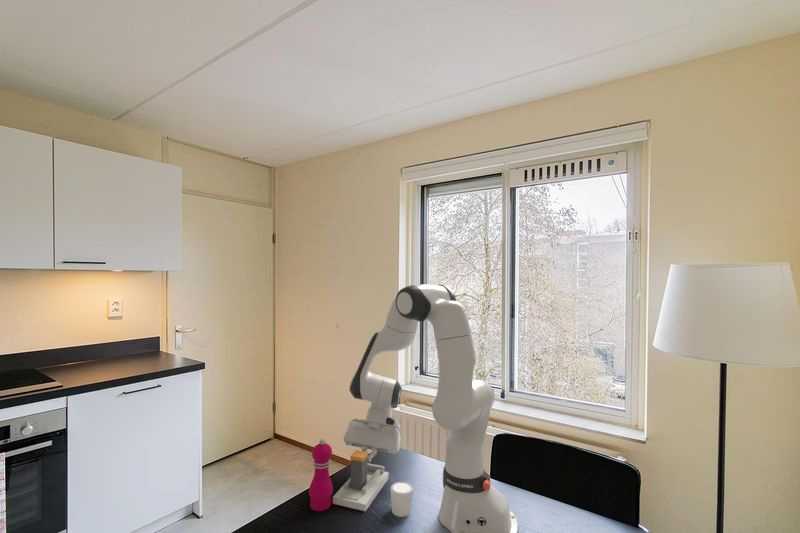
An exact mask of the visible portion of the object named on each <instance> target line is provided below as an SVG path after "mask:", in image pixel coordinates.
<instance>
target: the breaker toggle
mask: <svg viewBox="0 0 800 533" xmlns="http://www.w3.org/2000/svg"><path fill="white" fill-rule="evenodd" d="M368 455H369V452H367V451H365V452H363V451H362V450H355V451H353V453H352V454H351V455H350V477H349V478H350V488H353V489H358V490H362V488H363V487H364V486H365V484H366V483H367V463H368V462H367V456H368Z"/></svg>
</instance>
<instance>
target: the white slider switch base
mask: <svg viewBox="0 0 800 533" xmlns="http://www.w3.org/2000/svg"><path fill="white" fill-rule="evenodd" d="M389 474H390V472H388V471H385V465H379V464H373V463H368V462H367V483H366V484H365V486H364V487H363V488H362V490H358V489H353V488H350V477H349V478H348V479H347V481H346V482H345V483H344V484H343V485H342V486H341V487H340V488H339V490H337V492H335V494H334V495H333V496H332V505H337V506H341V507H346V508H349V509H354V510H359V511H361V512H362V511H363V512H366V511H367V510H368V508H369V507H370V506H371V504H372V502H374V499H376V497H377V496H378V494H379V493H380V492H381V490H382V489H383V487H384V486H385V484H386V483H387V481H388V480H389V479H388V478H390V477H389V476H390V475H389Z"/></svg>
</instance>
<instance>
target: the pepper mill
mask: <svg viewBox="0 0 800 533" xmlns="http://www.w3.org/2000/svg"><path fill="white" fill-rule="evenodd" d="M311 452H312V453H311V455H312V456H311V457H312V459H313V467H314V474H313V478H312V480H311V483H310V484H309V488H308V495H309V497H310V500H309V501H310V503H309V508H311V510H312V511H315V512H323V511H326V510H328V509H329V508H330V507H331V505H332V495H333V492H334V486H333V482H332V480H331V477H330V473H329V466H331V457H332V455H333V449H332V447H331V445H330V444H328V443H326V439H324V438H321V439H320V440H319V442H318V444H315V445H314V447H313V449H312V451H311Z"/></svg>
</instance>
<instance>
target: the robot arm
mask: <svg viewBox="0 0 800 533" xmlns="http://www.w3.org/2000/svg"><path fill="white" fill-rule="evenodd" d="M388 310H389V311H388V312H387V315H386V319H385V323H384V326H383V327H382V329H381V330H380V331H377V332H374V334H373V335H372V336H371V339H370V340H369V342H368V345H367V347H366V349H365V351H364V353H363V356H362V358H361V360H360V363H359V365H358V367H357V370H356V372H355V373H354V375H353V376H352V377H351V380H350V383H349V392H350V394H351V395H352V398H354V399H357V400H363V401H367V402H371V403H370V405H369V406H370V407H369V408H368V410H367V412H366V417H365V419H358V418H354V419H352V420H350V421H349V422H348V426H347V427H348V428H347V429H346V431H345V433H344V436H343V442H344V443H345V445H346V446H351V447H357V448H360V449H361V451H363V452H367V451H368V450H371V452H370V453H369V454H368V456H367V463H369V464H372V463H371V462H372V459H373V458H374V457H375V456H376V455H377V453H378V452H384V453H390V454H394V455H395V454H397V453H398V452H400V448H401V440H402V437H401V434H400V433H401V431H402V428H401V425H400V424H399V421H398V420H397V419H394V418H392V411H393V409H395V408H396V407H397V406H398V405H399V400H400V396H401V394H402V387H401V384H400V382H399V381H398V380H397V379H393V378H391V377H388V376H383V375H381V374H380V375H379V374H377V373H372V372H371V371H370V368H371V366H372V363H373V361H374V359H375V357H376V356H377V355H379V354H382V353H388V352H389V353H390V352H399V351H402V350H405V349H407V348H409V347H410V346H411V344H412V343H413V341H414V339H415V336H416V334H417V330H418V326H419V322H421V323H422V322H425V321H426V320H427V321H429V323H430V324H431V325H432V329H433V334H434V340H435V345H436V346H435V348H436V353H437V360H438V370H439V371H438V384H437V391H436V396H435V398H434V400H433V403H432V407H431V412H432V418H433V419H434V421H435V422H436V424H437V425H438V426H439V427H440V428H441V429H443V430H445V431H449V432H448V434H447V436H446V439H445V445H444V446H445V448H444V449H445V454H444V456H445V457H444V467H443V470H442V487H443V493H442V498H441V505H440V508H439V510H438V519H439V522H440V523H441V525H442V526H444V527H445V528H446V529H447V530H448V531H449V532H450V533H519V524H518V519H517V517H516V515H515V514H514V513H513V512H512V511H511V510H510V507H509V503H508V501H507V498H506V497H505V496H504V495H503V494H502V492H499V490H497V489H496V488H495V487H494V486H493V485H491V476H490V475H491V474H490V471H489V470H488V471H486V470H484V449H485V448H484V447H485V439H486V435H487V434H486V433H487V430H488V429H487V428H488V426H489V420H490V419H489V418H490V414H491V411H492V407H493V405H494V403H495V399H496V398H495V397H496V396H495V391H494V389H493V387H492V386H491V385H490V383H488V382H487V381H485V380H482V379H478V378H477V379H474V376H473V375H474V369H475V366H476V363H477V362H476V361H477V357H476V352H475V347H474V341H473V337H472V331H471V327H470V323H469V320H468V317H467V314H466V311H465V309H464V306H463V305H462V304H461V303H460V302H458V301H457V298H456V294H455V292H454V290H453V289H452V288H450V287H449V286H447V285H444V284H427V283H423V284H417V285H416V284H415V285H412V284H411V285H408V286H404V287H403V288H401V289H400V290H398V292H397V294H396V296H395V298H393V301H392V303H391V305H390V308H389V309H388Z"/></svg>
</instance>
